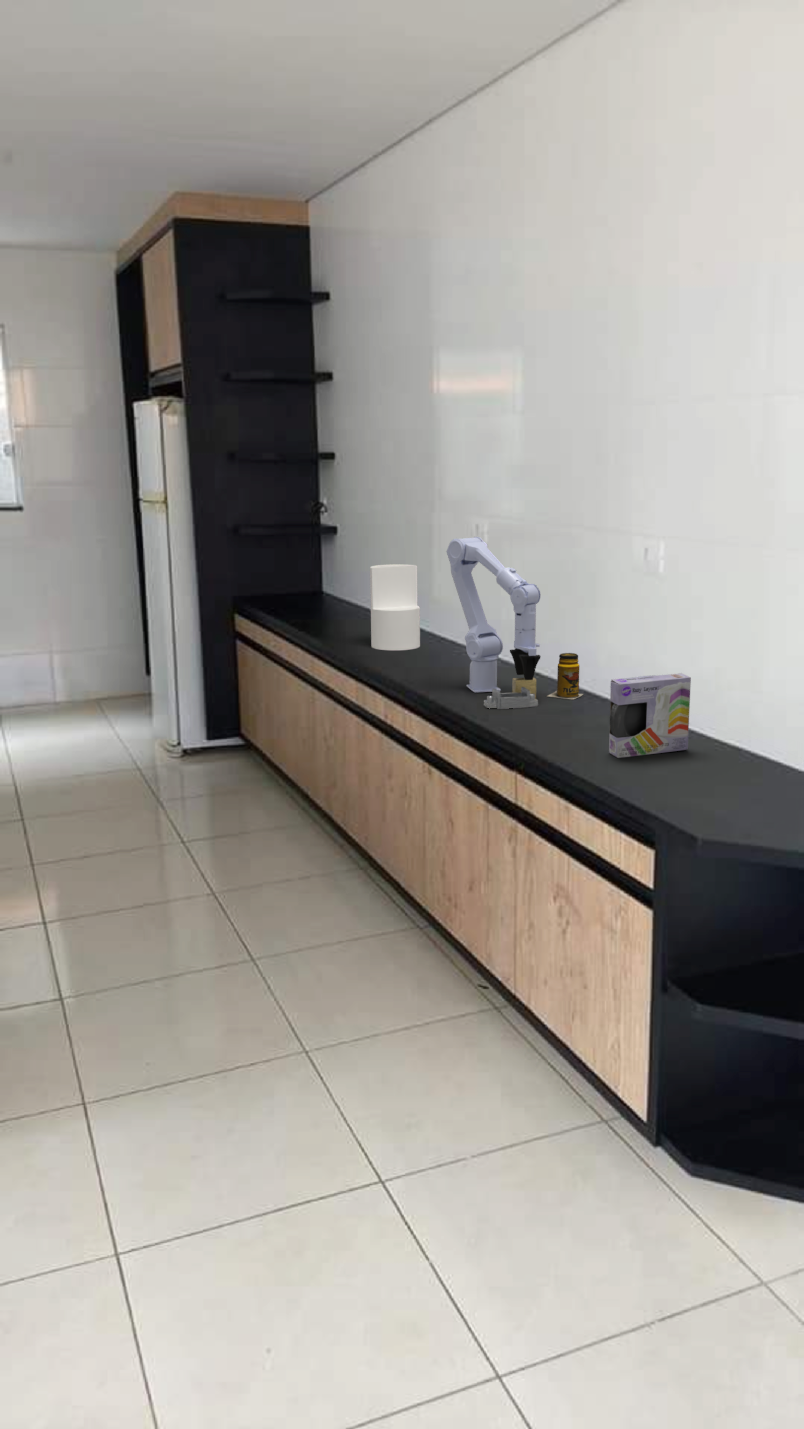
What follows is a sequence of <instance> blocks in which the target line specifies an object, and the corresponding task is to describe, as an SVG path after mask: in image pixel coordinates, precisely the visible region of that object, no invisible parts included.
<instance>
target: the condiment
mask: <svg viewBox="0 0 804 1429" xmlns="http://www.w3.org/2000/svg"><path fill="white" fill-rule="evenodd" d="M558 657H559V660H558V664H557V676H556V677H557V683H556V690H555V691H554V692H552V693H550V694H548V695H547V697H550V698H558V699H565V700H576V699H577V698H580V697H582V696H583V695H584V693H579V692H580V664H579V655H578V654H577V653H573V652H564V653H560V654H559V656H558Z"/></svg>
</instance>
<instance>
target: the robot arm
mask: <svg viewBox="0 0 804 1429" xmlns="http://www.w3.org/2000/svg"><path fill="white" fill-rule="evenodd" d="M445 552H446V555H447V558H448V560H449V564H450V573H451V576H452V581H453V584H454V586H455V590H456V592H457V596H458V599H459V601H460V604H461V608H462V612H463V613H464V616H465V621H466V623H467V626H468V629H469V630H468V631H467V633H466V635H465V636H464V640H465V644H466V645H465V650H466V653H467V656H468V657H469V660H471V661H470V664H469V684H466V688H468V689H469V690H471V691H472V692H473V693H491V692H492V689H497V690H498V691H499V692H501V691H502V689H501V688H500V687H498V685H497V684H498V682H497V681H498V680H497V679H498V659H499V658H500V657H499V656H500V655H501V653H502V652H503V649H504V644H503V641H502V638H501V637H500V635H498V633H497V629H496V628H494V627H493V626H492V625H490V624H488V621H487V618H486V614H485V612H484V609H483V605H482V602H481V599H480V596H479V594H478V589H477V587H476V583H475V581H474V578H473V574H472V571H473V570H474V568H476V566H477V565H478V564H480V565H482V566H483V567H484V568H486V569H487V570H488V571H489V572H490V573H492V574H493V575H494V576H495V577H496V578H495V579H496V584H498V585H499V586H500V587H501V588H502V589H503V591H505V592H506V593H507V594H508V595H509V597H510V603H511V604H512V606H513V611H514V640H513V648H514V649H509V653H510V655H511V656H512V660H513V663H514V668H515V672H516V675H517V676H521V675H522V676H523V678H525V680H533V678H535V672H536V668H537V665H538V663H539V661H540V660H541V655H540V654H537V648H540V645H541V644H540V643H537V642H536V637H537V636H536V634H537V633H536V627H537V626H536V625H537V624H536V620H537V605H538V603H539V602H540V600H541V590H540V589H539V587H538V586H537V585H536V584H535V583H529V582H528V581H527V580H526V579H524V578H523V577H522V576H521V575H520V574H519V573H518V572H517V569H515V567H509V566H508V567H505V566H504V565H503V563H502V562H501V561H500V560H499V559H498V558H497V557H496V556H495V555H494V553H492V551H491V550H490V549H489V546H488V543H487V542H485V541H484V540H483V538H482V537H480V536H473V537H465V538H463V537H462V538H453V539H451V541H450V542H449V544H448V546H447V549H446V551H445Z"/></svg>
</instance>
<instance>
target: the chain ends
mask: <svg viewBox="0 0 804 1429" xmlns="http://www.w3.org/2000/svg"><path fill="white" fill-rule="evenodd" d="M491 694H492V695H487V696H486V699H484V700H483V706H484V707H485V708H486V709H487V708H489V709H488V710H491V709H490V708H497V709H496V710H508V709H509V708H513V709H527V708H530V707H538V706H539V700H538V699H537V698H536V699H535V694H533V693H530V691H529V690H528V689H527V688H525V687H521V692H515V693H512V692H501V691H498V690H497V689H492V693H491ZM509 710H510V709H509Z"/></svg>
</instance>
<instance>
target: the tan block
mask: <svg viewBox="0 0 804 1429" xmlns="http://www.w3.org/2000/svg"><path fill="white" fill-rule="evenodd" d="M511 683H512V689H511V693H515V692H521V687H525V688H527V689H528V690H529V691H530V693H533V694H535V699H537V678H535V677H533V680H525V678H524V677H513V678H512V682H511Z"/></svg>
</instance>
